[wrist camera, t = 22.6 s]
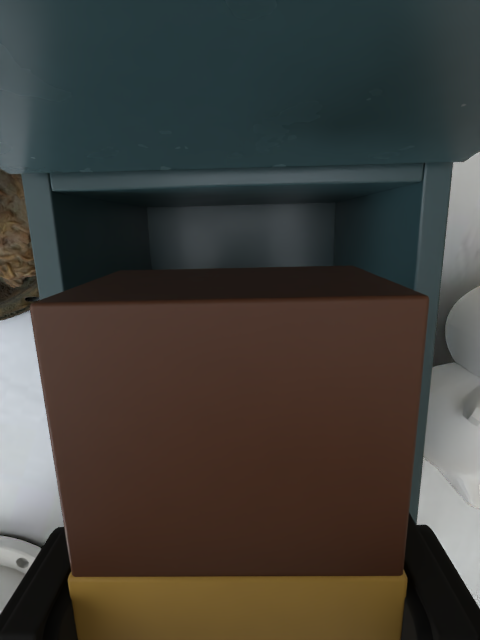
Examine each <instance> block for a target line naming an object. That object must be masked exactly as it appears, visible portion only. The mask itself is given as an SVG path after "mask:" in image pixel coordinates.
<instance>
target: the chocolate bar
mask: <svg viewBox="0 0 480 640" xmlns="http://www.w3.org/2000/svg"><path fill="white" fill-rule="evenodd" d="M428 309H429V297H428V296H427V295H425V294H422V293H420V292H417V291H415V290H412V289H410V288H407V287H405V286H402V285H400V284H397V283H395V282H392V281H390V280H387V279H385V278H382V277H380V276H377V275H375V274H372V273H370V272H368V271H365V270H363V269H360V268H358V267H355V266H353V265H350V266H303V267H257V268H210V269H164V270H120V271H117V272H114V273H111V274H109V275H106V276H103V277H101V278H98V279H95V280H93V281H90V282H87V283H85V284H82V285H79V286H77V287H74V288H71V289H68V290H66V291H63V292H60V293H58V294H55V295H52V296H50V297H47V298H44V299H42V300H39V301H36V302H34V303H32V304H31V305H30V313H31V319H32V325H33V332H34V338H35V344H36V351H37V357H38V363H39V370H40V376H41V382H42V389H43V395H44V401H45V408H46V414H47V420H48V427H49V433H50V439H51V446H52V452H53V458H54V465H55V471H56V477H57V484H58V490H59V497H60V503H61V509H62V516H63V522H64V528H65V535H66V541H67V547H68V554H69V560H70V566H71V573H70V575H69V577H68V586H69V592H70V598H71V600H72V606H73V612H74V619H75V625H76V631H77V637H78V640H401V632H402V622H403V612H404V602H405V597H406V590H407V576H406V574H405V571H404V559H405V549H406V538H407V528H408V518H409V507H410V497H411V486H412V476H413V465H414V455H415V445H416V434H417V424H418V413H419V403H420V393H421V382H422V372H423V361H424V351H425V340H426V330H427V320H428Z"/></svg>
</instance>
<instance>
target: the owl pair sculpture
mask: <svg viewBox="0 0 480 640" xmlns="http://www.w3.org/2000/svg"><path fill="white" fill-rule="evenodd" d="M27 297H39V290H38V284H37V277H36V270H35V263H34V257H33V250H32V243H31V237H30V230H29V223H28V217H27V210H26V203H25V196H24V190H23V183H22V176H21V174H9V173H7V172H5V171H4V170H2V169H0V320H5V319H7V318H11V317H14V316H16V315H20V314H22V313H24V312H27V311H29V310H30V305H31V304H32V303H34V302H36V301H30V302H29V301H26V300H25V298H27ZM38 301H39V300H38Z"/></svg>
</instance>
